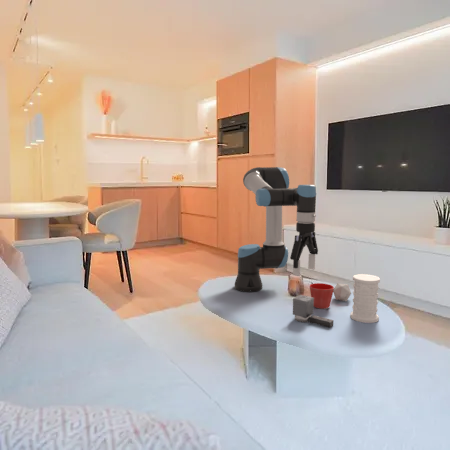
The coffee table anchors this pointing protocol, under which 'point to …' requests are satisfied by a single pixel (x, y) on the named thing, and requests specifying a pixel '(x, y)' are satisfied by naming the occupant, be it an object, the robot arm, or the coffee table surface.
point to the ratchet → (315, 320)
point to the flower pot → (321, 295)
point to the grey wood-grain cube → (303, 306)
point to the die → (342, 292)
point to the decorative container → (365, 298)
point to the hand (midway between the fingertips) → (304, 272)
